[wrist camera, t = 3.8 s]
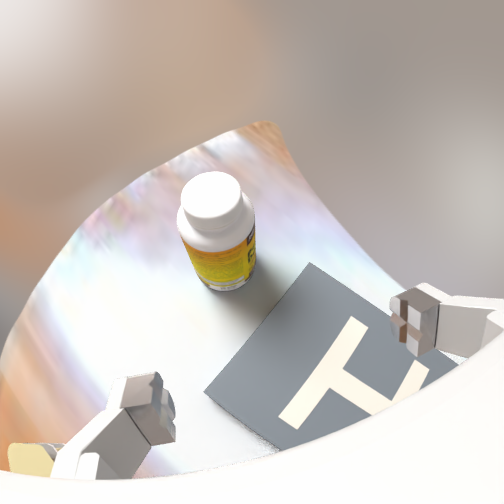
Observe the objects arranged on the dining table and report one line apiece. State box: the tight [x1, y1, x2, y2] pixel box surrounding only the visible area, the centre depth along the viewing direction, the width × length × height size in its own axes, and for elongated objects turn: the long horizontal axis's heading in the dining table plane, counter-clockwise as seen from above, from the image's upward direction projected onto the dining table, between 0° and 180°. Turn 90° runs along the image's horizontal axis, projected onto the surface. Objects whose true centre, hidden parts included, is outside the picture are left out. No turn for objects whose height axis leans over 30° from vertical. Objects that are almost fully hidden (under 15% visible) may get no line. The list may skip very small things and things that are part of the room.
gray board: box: [204, 262, 458, 451], centre depth 21 cm, size 20×14×2 cm
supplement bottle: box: [177, 172, 256, 291], centre depth 23 cm, size 6×6×10 cm
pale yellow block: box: [8, 443, 66, 477], centre depth 15 cm, size 10×9×6 cm
